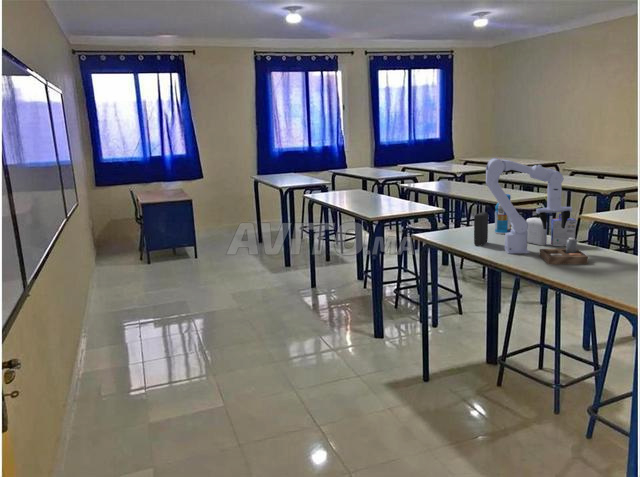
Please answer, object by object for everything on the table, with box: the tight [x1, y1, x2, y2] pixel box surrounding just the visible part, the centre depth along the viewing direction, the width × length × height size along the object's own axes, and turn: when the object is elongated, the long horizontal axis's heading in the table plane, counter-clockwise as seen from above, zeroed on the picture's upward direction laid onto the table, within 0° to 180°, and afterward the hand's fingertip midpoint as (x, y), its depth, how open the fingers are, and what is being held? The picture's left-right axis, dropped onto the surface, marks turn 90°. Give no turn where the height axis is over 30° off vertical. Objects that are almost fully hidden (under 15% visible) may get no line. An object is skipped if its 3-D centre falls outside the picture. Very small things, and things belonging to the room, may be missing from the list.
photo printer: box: [525, 217, 548, 247], centre depth 248 cm, size 10×4×12 cm, turn 31°
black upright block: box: [473, 211, 489, 246], centre depth 253 cm, size 9×4×15 cm, turn 141°
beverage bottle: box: [494, 193, 512, 235], centre depth 273 cm, size 8×8×20 cm
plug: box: [565, 237, 578, 254], centre depth 221 cm, size 4×4×9 cm
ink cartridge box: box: [550, 213, 577, 247], centre depth 242 cm, size 10×6×14 cm, turn 78°
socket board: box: [539, 247, 589, 265], centre depth 221 cm, size 15×14×3 cm
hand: (553, 228), depth 232 cm, fingers open, 7 cm apart
